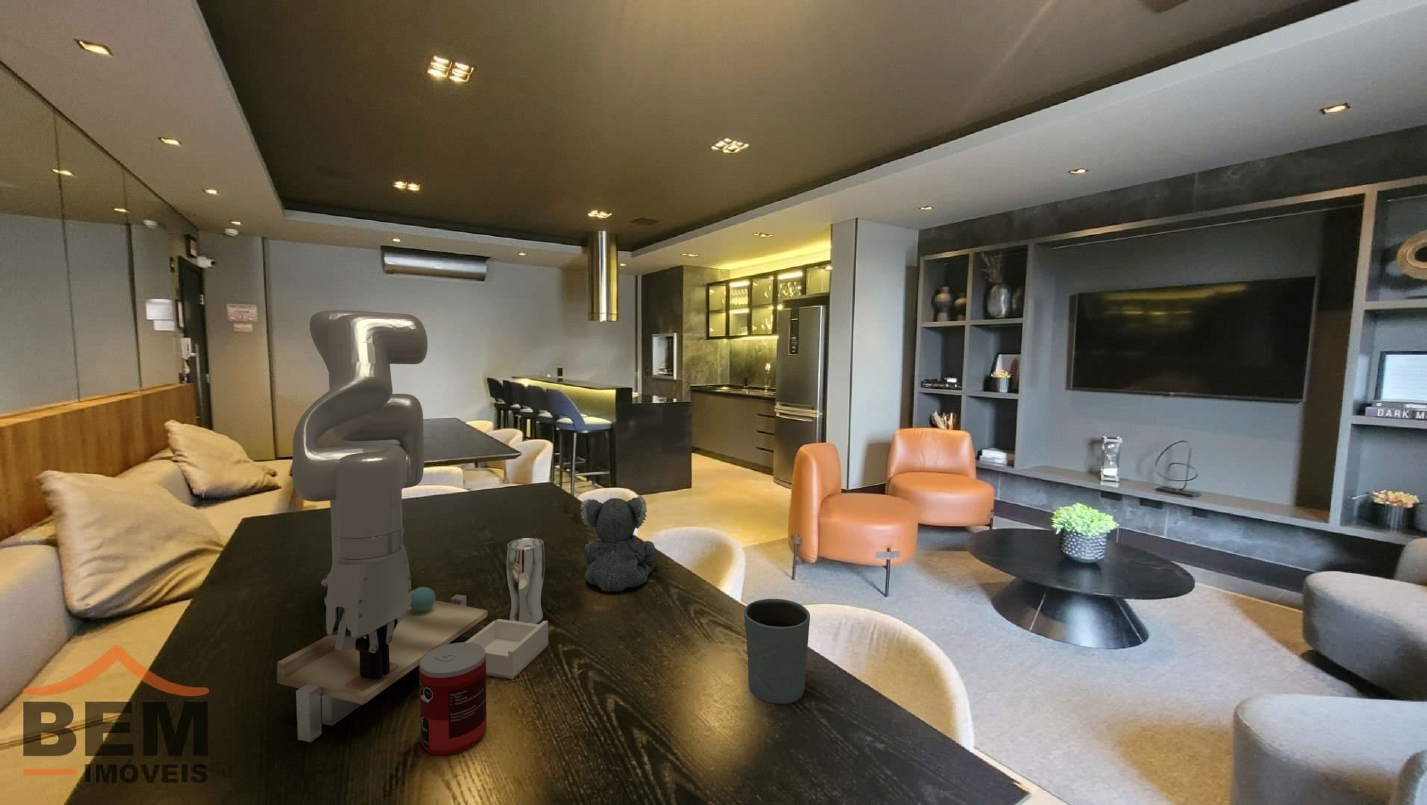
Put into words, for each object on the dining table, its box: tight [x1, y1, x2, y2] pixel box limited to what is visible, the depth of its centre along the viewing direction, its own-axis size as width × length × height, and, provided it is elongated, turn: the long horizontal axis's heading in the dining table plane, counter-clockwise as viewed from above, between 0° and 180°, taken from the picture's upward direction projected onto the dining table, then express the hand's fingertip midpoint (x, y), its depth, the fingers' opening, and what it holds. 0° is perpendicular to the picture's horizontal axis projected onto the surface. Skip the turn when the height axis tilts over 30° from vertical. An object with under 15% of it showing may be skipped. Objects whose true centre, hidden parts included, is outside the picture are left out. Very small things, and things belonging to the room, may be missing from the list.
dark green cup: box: [743, 598, 811, 705], centre depth 84 cm, size 10×10×12 cm
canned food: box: [418, 641, 488, 756], centre depth 72 cm, size 8×8×11 cm
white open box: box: [465, 618, 549, 680], centre depth 92 cm, size 11×11×4 cm
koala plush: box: [579, 495, 658, 593], centre depth 125 cm, size 17×18×20 cm
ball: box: [410, 586, 436, 612], centre depth 95 cm, size 4×4×4 cm
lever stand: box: [295, 594, 467, 743], centre depth 86 cm, size 31×2×7 cm, turn 167°
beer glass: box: [505, 537, 546, 624], centre depth 105 cm, size 7×7×15 cm
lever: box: [276, 586, 489, 706], centre depth 85 cm, size 26×14×4 cm, turn 167°
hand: (375, 674), depth 75 cm, fingers closed
